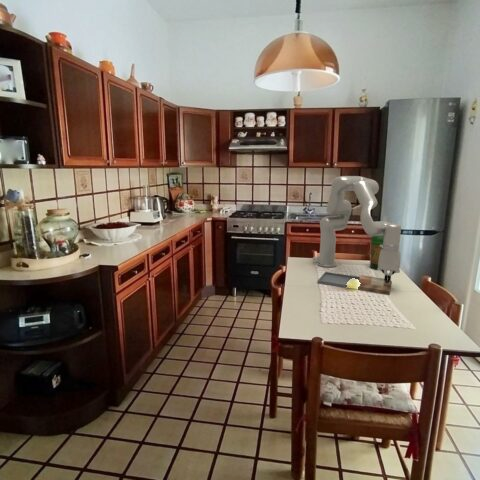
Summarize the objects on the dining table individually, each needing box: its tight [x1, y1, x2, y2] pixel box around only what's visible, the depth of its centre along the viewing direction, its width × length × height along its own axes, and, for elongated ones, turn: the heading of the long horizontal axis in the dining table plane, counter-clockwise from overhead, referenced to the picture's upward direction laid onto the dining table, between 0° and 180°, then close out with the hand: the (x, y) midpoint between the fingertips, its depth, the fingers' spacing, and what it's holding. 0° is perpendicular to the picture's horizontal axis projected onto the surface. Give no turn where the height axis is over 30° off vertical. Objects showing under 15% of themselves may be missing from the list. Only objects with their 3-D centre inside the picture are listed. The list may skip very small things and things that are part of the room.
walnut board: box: [359, 280, 393, 296], centre depth 180 cm, size 14×18×2 cm
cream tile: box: [371, 276, 384, 286], centre depth 179 cm, size 6×6×2 cm
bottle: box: [369, 236, 384, 271], centre depth 212 cm, size 11×11×28 cm
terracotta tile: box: [359, 274, 373, 285], centre depth 182 cm, size 6×6×2 cm
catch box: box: [316, 271, 362, 291], centre depth 188 cm, size 22×18×2 cm
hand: (387, 282), depth 177 cm, fingers closed
